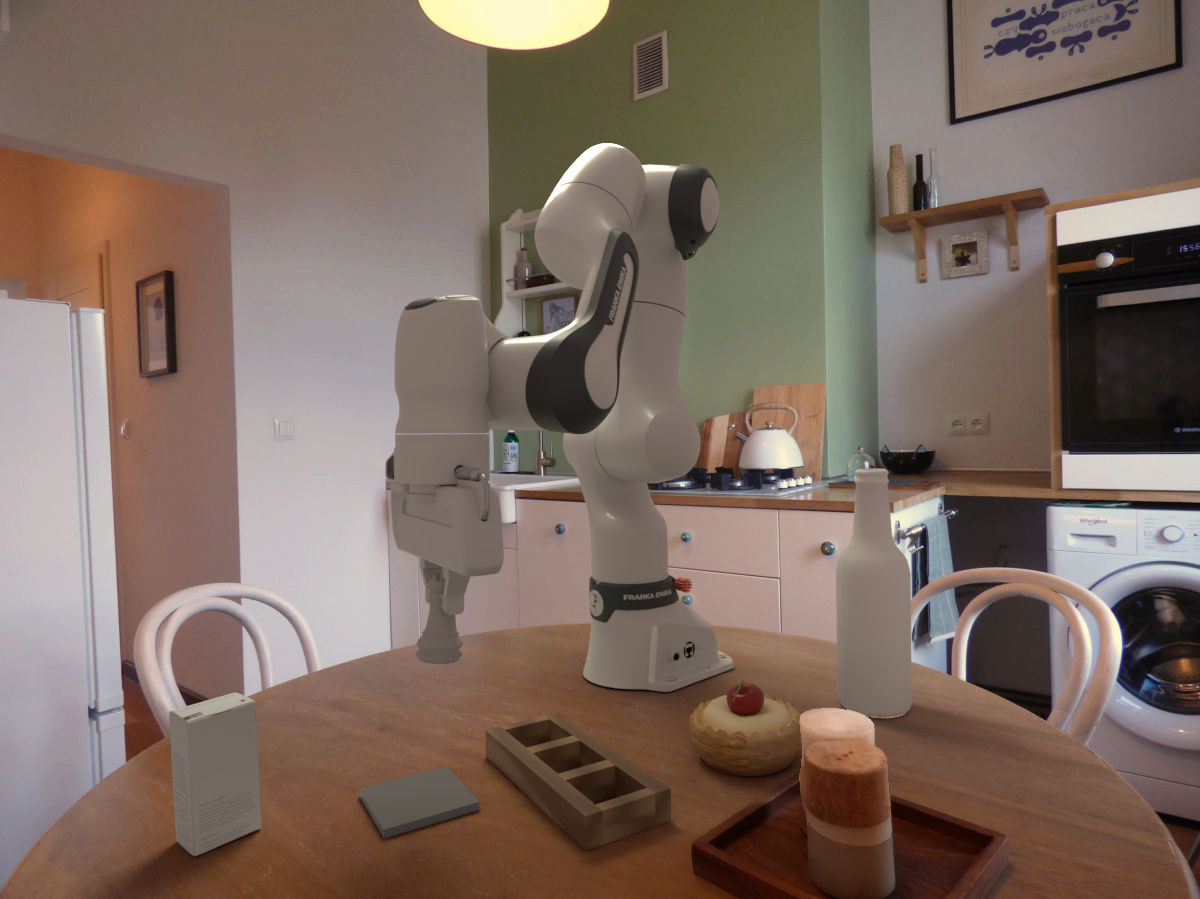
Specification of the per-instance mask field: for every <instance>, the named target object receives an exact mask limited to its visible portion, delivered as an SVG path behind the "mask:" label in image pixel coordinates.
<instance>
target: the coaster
mask: <svg viewBox="0 0 1200 899" xmlns="http://www.w3.org/2000/svg"><path fill="white" fill-rule="evenodd" d="M358 793H359V799H360V800H361V801H362V804H363V806H364V807H365V808H366V810H367V812H368V813H369V815H370V817H371V818H372V821H373V823H374V825H375V826H376V827H377V829H378V831H379V832H380V835H381V836H382V838H383V839H388V838H390V837H394V836H397V835H401V834H404V833H408V832H411V831H415V830H417V829H421V828H424V827H428V826H430V825H434V824H437V823H441V822H445V821H448V820H451V819H454V818H458V817H461V816H464V815H468V814H471V813H475V812H477V811H480V810H481V809H480V801H479V799H477V797H476V796H475V795H474V794H473V793H472V792H471V791H470V790H469V788H467V786H466V785H465V783H463V782H462V780H460V778H458V776H456V774H455V773H454V772H453V771H452V770H451V769H450V767H448V766H447V765H446V766H442V767H438V768H434V769H431V770H425V771H423V772H420V773H416V774H412V775H408V776H403V777H400V778H397V779H392V780H389V781H384V782H381V783H380V782H379V783H378V784H373V785H369V786H365V787H362V788H359V792H358Z"/></svg>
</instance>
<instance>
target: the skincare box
mask: <svg viewBox="0 0 1200 899" xmlns="http://www.w3.org/2000/svg"><path fill="white" fill-rule="evenodd" d="M168 717H169V718H168V721H169V734H170V735H169V739H170V751H171V752H170V754H171V770H172V772H171V773H172V789H173V790H172V791H173V808H174V809H173V810H174V813H173V814H174V826H175V840H176V841H177V843H178V844H179V845H180V846H181V847H182V848H183V849H184V850H185V851H187V853H189V855H191V856H193V857H197V856H198V857H199V855H203V854H205V853H207V852H209V851H212V850H214V849H216V848H218V847H220V846H224V845H226V844H227V843H230V842H233V841H235V840H237V839H240V838H242V837H244V836H246V835H248V834H251V833H253V832H255V831H258V830H259V829H261V828H262V810H261V808H262V807H261V783H260V762H259V761H260V759H259V758H260V757H259V737H258V723H257V702H256V701H255V700H254V699H253V698H250V697H248V696H246V695H244V694H241V693H239V692H231V693H228V694H225V695H222V696H221V695H220V696H217V697H213V698H210V699H207V700H206V699H205V700H204V701H200V702H197V703H192V704H189V705H186V706H182V707H179V708H175V709H172V710H169V712H168Z"/></svg>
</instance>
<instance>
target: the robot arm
mask: <svg viewBox="0 0 1200 899" xmlns="http://www.w3.org/2000/svg"><path fill="white" fill-rule="evenodd" d="M719 210H720V197H719V192H718V186H717V182H716V180H715V178H714V176H713V175H712V174H711V173H710V171H709V170H708V169H707V168H705V167H702V166H699V165H696V164H695V165H694V164H688V163H681V164H679V165H669V164H668V165H666V164H642V163H641V161H640V160H639V158H638V157H637V156H636V155H635V154H634V153H633V152H632V151H631V150H629V149H628V148H626V147H624V146H621V145H619V144H616V143H607V142H606V143H599V144H596V145H594V146H591V147H590V148H588V149H587V150H585V151H584V152H583V153H582V154H580V156H579V157H578V158H577V159H576V160H575V161H574V162H573V163H572V164H571V165H570V167H569V168H568V169H567V170H566V171H565V172H564V174H563V175H562V177H561V178H560V179H559V181H558V182H557V184H556V185H555V187H554V188H553V190H552V192H550V195H549V197H548V199H547V200H546V202H545V203H544V206H543V207H542V209H541V211H540V213H539V216H538V217H537V221H536V223H535V229H534V243H535V248H536V251H537V254H538V256H539V258H540V260H541V262H542V263H543V265H544V266H545V268H546V269H547V271H549V272H550V273H551V274H552V275H553V276H554V277H555V278H557V279H558V280H559V281H560V282H562V283H563V284H565V285H567V286H569V287H571V288H574V289H577V290H582V292H581V296H580V299H579V303H578V305H577V310H576V313H575V315H574V319H573V321H571V323H570V324H568V325H565V326H564V327H563V328H560V329H558V330H556V331H553V332H550V333H546V334H540V335H531V336H520V337H519V336H517V337H510V335H509V334H507V333H505V332H504V331H501V330H500V329H499V328H498V327H496V326H495V324H493V323H492V321H490V319H488V317H487V316H486V314H485V312H484V308H483V307H484V306H483V304H482V301H481V299H480V298H478V297H476V296H473V295H471V294H470V295H469V294H450V295H444V296H433V297H426V298H420V299H416V300H413V301H411V302H409V303H408V304H407V305H406V306H405V307H404V308H403V309H402V311H401V314H400V317H399V320H398V324H397V329H396V335H395V336H396V337H395V346H394V389H395V394H396V396H397V401H398V406H399V408H398V410H399V412H398V418H397V423H396V425H395V432H394V434H395V435H394V436H395V437H394V438H395V440H394V442H395V443H394V444H395V445H394V449H393V452H392V453H391V454H390V455H389V457H388V458H386V461H385V465H384V466H385V467H384V468H385V469H384V470H385V471H384V473H385V478H386V480H387V481H389V482H392V483H391V485H390V509H391V511H390V512H391V524H392V534H393V537H394V538H393V539H394V541H395V544H396V548H397V549H398V550H400V551H403V552H405V553H408V554H410V555H412V556H414V557H416V558H419V569H420V574H421V578H422V581H423V585H424V598H425V602H426V603H427V604H429V605H430V603H429V601H428V600H429V599H430V598H431V590H430V589H429V587H428V586H427V584H428V582H429V581H430V580H431V577H432V574H435V573H441V576H443V578H445V586H444V594H441V610H442V611H443V612H445V613H446V614H448V615H455V616H456V615H461V614H463V613H464V611H465V594H466V592H467V588H468V586H469V583H470V579H471V577H481V576H482V577H483V576H490V575H496V574H498V573H500V571H501V569H502V566H503V564H504V558H505V557H504V556H505V555H504V552H505V551H504V550H505V549H504V536H503V521H502V510H501V505H500V500H499V496H498V493H497V491H496V490H494V489H493V488H492V486H491V482H490V481H491V478H490V477H491V473H490V472H491V469H490V464H491V463H490V459H491V457H490V455H491V454H490V450H491V448H490V446H491V445H490V444H491V443H490V442H491V441H490V439H491V438H490V430H491V431H514V432H515V431H516V432H520V431H521V432H525V431H527V432H529V431H532V432H535V431H536V432H537V431H540V432H541V431H545V432H546V431H548V432H553V433H554V432H555V433H560V434H561V433H563V438H562V448H563V452H564V456H565V458H566V461H567V462H568V463H569V465H571V467H572V468H573V470H574V472H575V474H576V477H577V479H578V483H579V485H580V488H581V493H582V496H583V499H584V502H585V503H584V504H585V507H586V509H587V514H588V520H589V521H588V522H589V529H590V530H589V531H590V548H591V576H590V577H589V582H588V584H589V585H588V586H589V588H588V589H589V591H588V592H589V593H588V594H589V597H588V598H589V611H590V613H589V614H590V616H591V621H590V622H591V623H590V633H589V634H590V635H589V640H588V641H589V642H588V649H587V653H586V654H587V655H586V660H585V664H584V667H583V670H582V675H583V677H584V678H585V679H586V680H587V681H589V682H591V683H593V684H595V685H599V686H602V687H606V688H613V689H622V690H623V689H624V690H648V691H655V692H662V693H663V692H664V693H668V692H672V691H677V690H678V689H681V688H684V687H686V686H688V685H692V684H695V683H697V682H700V681H702V680H705V679H708V678H710V677H713V676H716V675H718V674H722V673H724V672H727V671H730V670H732V669H734V667H735V665H734V660H733V659H732V657H731V656H729V655H728V654H726V653H725V652H723V651H721V650H719V649H718V642H717V637H716V632H715V630H714V627H713V625H712V624H711V623H710V621H708V619H705V618H704V617H703V616H702V615H700V614H698V612H696V611H695V610H693V609H692V608H691V607H690V606H688V605H687V604H685V603H684V602H683V601H682V600H680V597H679V593H678V592H677V591H680V592H683V593H690V591H691V589H692V588H693V581H691V579H690V578H686V577H685V578H684V577H682V576H679V577H677V578H675V577H673V576H672V575H670V574H669V556H668V554H669V552H668V550H669V549H668V547H669V546H668V543H669V542H668V541H669V540H668V539H669V538H668V526H667V521H666V520H665V518H664V516H663V515H662V513H661V512H660V511H659V510H658V509H657V507H656V505H655V503H654V501H653V499H652V497H651V493H650V489H649V486H648V484H659V483H664V482H667V481H672V480H676V479H679V478H682V477H683V476H686V475H687V474H688V473H689V472H690V471H691V470H692V469H694V466H695V465H696V463H697V461H698V459H699V456H700V450H701V444H702V443H701V435H700V432H699V428H698V426H697V423H696V422H695V420H694V419H693V418H692V416H691V415H690V414H689V413H688V411H687V409H686V406H685V404H684V401H683V396H682V390H681V382H680V361H681V352H682V344H683V338H684V337H683V336H684V330H685V329H684V328H685V323H686V317H687V316H686V315H687V310H688V298H689V266H688V265H689V264H688V260H690V259H692V258H693V257H695V255H696V254H697V252H698V249H700V248H701V247H703V246H704V245H705V244H706V243H707V241H708V239H710V237H711V236H712V234H713V233H714V230H715V229H716V226H717V224H718V223H717V222H718V219H719V218H718V216H719ZM441 576H440V577H441Z"/></svg>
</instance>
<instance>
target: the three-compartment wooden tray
mask: <svg viewBox="0 0 1200 899" xmlns="http://www.w3.org/2000/svg"><path fill="white" fill-rule="evenodd" d="M484 733H485V757H486V758H487V759H488V761H490V762H491V763H492V764H493V765H494V766H495V767H496V768H498V769H499V770H500V771H501V772H502V774H504V775H505V777H507V778H508V779H509V780H510V781H511V782H512V783H513V784H514V785H516V786H517V788H518V789H520V790H521V791H522V792H523V793H524V795H526V796H527V797H528V798H529V799H530V800H531V801H532V802H533V803H534V804H536V805H537V807H538V808H540V809H541V810H542V811H543V812H544V813H545V814H546V815H547V816H548V817H549V818H550V819H551V820H552V821H554V822H555V823H556V824H557V826H559V827H560V828H561V829H562V831H564V832H565V833H566V834H567V835H568V836H569V837H570V838H571V839H572V840H573V841H575V842H576V844H578V845H579V846H580V847H581V848H582V849H583V851H585V852H588V851H590V850H594V849H596V848H599V847H602V846H605V845H607V844H610V843H613V842H616V841H618V840H622V839H624V838H626V837H630V836H633V835H635V834H639V833H641V832H643V831H647V830H649V829H653V828H655V827H657V826H660V825H663V824H666V823H669V822H672V788H671V787H669V786H668V785H667V784H665V783H663V782H662V781H661V780H659V779H657V778H656V777H655V776H653V775H652V774H650V772H648V771H646V770H645V769H643V768H641V767H640V766H638V764H635V763H634V762H632V761H631V760H629V759H628V758H626V757H625V756H623V755H622V754H621V753H619V752H618V751H616V750H615V749H614V748H612V747H611V746H609V745H607V744H606V743H604V742H603V741H601V740H600V739H598V738H597V737H596V736H594V735H592V734H591V733H589V732H588V731H586V730H585V729H583V727H581V726H579V725H578V724H576V723H575V722H574V721H572V720H570V719H568V717H565V715H562V714H561V713H560V712H553V713H549V714H545V715H541V716H536V717H532V718H529V719H524V720H520V721H517V722H512V723H508V724H504V725H499V726H495V727H491V728H487V729H485V732H484ZM612 797H614V798H612ZM610 798H612V799H610ZM606 799H609V800H606ZM603 800H606V801H603ZM599 801H601V802H599ZM602 801H603V802H602ZM597 802H599V803H597ZM595 803H596V804H595Z"/></svg>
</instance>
